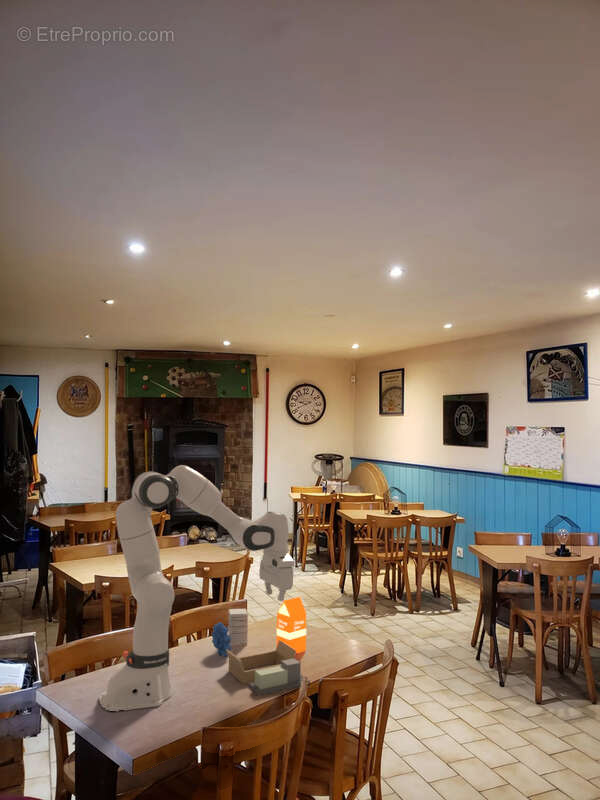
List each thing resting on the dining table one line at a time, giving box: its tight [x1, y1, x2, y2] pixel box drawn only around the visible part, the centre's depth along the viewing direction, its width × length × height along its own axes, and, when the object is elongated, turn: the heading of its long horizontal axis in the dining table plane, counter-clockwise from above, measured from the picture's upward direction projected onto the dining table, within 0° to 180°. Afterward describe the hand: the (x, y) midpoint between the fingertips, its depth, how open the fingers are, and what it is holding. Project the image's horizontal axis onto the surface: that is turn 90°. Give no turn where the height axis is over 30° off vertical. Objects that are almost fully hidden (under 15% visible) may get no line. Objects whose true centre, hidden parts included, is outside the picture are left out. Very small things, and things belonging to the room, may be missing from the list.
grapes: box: [211, 621, 233, 657], centre depth 231 cm, size 12×7×12 cm, turn 40°
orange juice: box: [276, 596, 307, 654], centre depth 238 cm, size 8×9×20 cm
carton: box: [226, 640, 296, 685], centre depth 215 cm, size 22×13×8 cm, turn 119°
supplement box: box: [227, 608, 249, 647], centre depth 246 cm, size 7×7×13 cm
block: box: [255, 658, 301, 689], centre depth 204 cm, size 15×4×6 cm, turn 120°
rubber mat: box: [248, 673, 311, 696], centre depth 204 cm, size 19×8×1 cm, turn 120°
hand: (274, 597), depth 214 cm, fingers open, 8 cm apart
